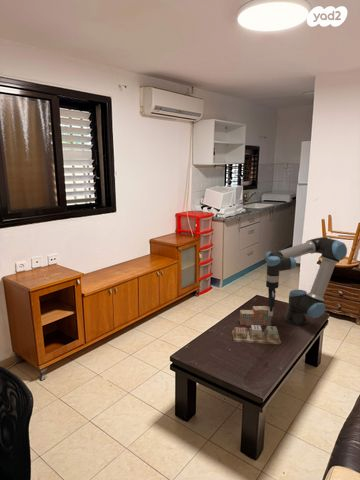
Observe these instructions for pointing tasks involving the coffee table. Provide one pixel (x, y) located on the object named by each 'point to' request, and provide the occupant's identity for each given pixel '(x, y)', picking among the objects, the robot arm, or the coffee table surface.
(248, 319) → the stack of blocks
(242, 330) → the tile
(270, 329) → the light grey block
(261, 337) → the button board
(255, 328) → the tile
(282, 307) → the coffee table surface
